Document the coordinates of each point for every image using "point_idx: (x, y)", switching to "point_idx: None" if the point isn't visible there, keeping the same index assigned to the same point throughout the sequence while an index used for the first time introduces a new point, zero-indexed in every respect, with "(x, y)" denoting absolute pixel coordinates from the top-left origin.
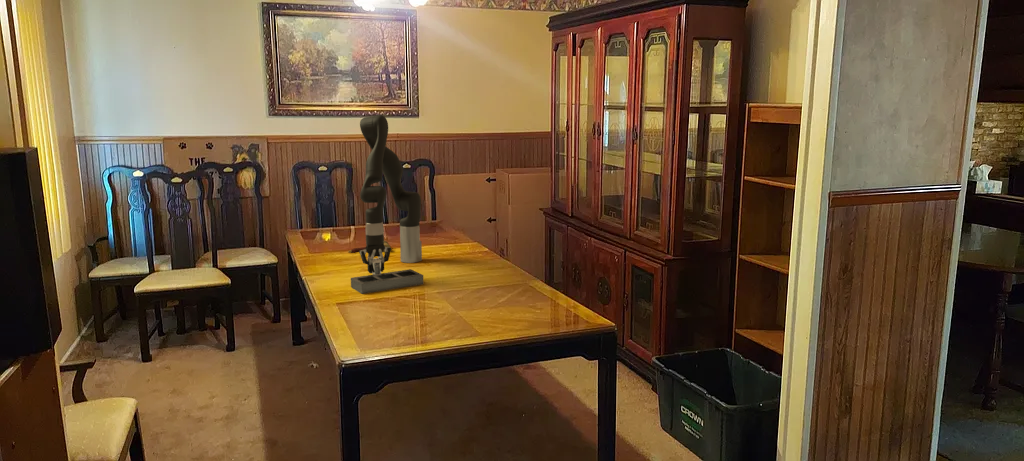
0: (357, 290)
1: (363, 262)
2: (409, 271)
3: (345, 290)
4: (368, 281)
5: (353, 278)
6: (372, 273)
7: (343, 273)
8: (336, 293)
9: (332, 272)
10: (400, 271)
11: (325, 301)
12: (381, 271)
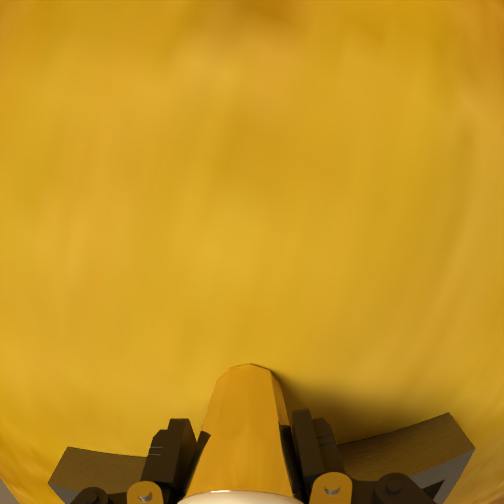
0: None
1: (88, 500)
2: (439, 478)
3: (52, 465)
4: None
5: (65, 498)
6: (206, 417)
7: (45, 59)
8: (29, 470)
9: (9, 22)
10: None
11: (24, 498)
12: (293, 438)
